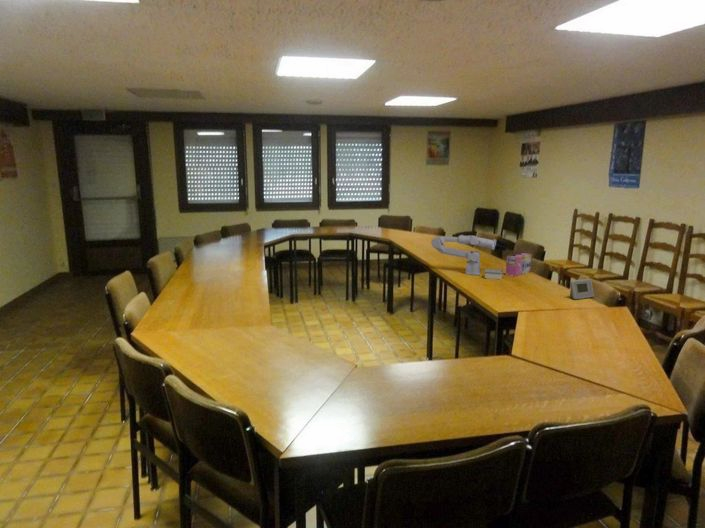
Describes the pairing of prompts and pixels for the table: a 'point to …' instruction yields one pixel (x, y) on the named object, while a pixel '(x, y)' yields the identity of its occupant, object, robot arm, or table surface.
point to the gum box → (518, 264)
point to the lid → (496, 270)
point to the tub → (493, 275)
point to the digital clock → (581, 289)
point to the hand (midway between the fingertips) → (506, 247)
